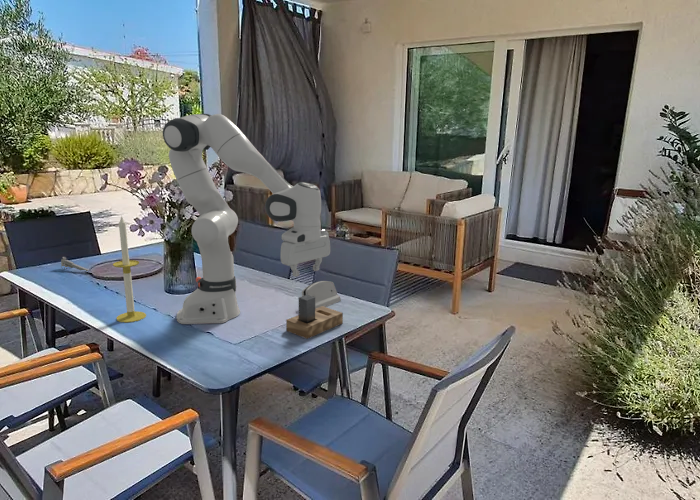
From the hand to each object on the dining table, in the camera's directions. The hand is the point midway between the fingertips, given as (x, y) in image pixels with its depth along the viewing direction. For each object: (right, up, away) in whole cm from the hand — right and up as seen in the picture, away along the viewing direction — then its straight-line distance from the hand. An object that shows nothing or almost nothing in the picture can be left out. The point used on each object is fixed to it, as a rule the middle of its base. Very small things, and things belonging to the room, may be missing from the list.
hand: (306, 273), depth 163 cm
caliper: (-113, -3, +66) cm, 131 cm away
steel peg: (0, -20, +5) cm, 21 cm away
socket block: (+2, -19, +8) cm, 21 cm away
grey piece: (+3, -14, +31) cm, 34 cm away
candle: (-65, -17, +13) cm, 68 cm away
